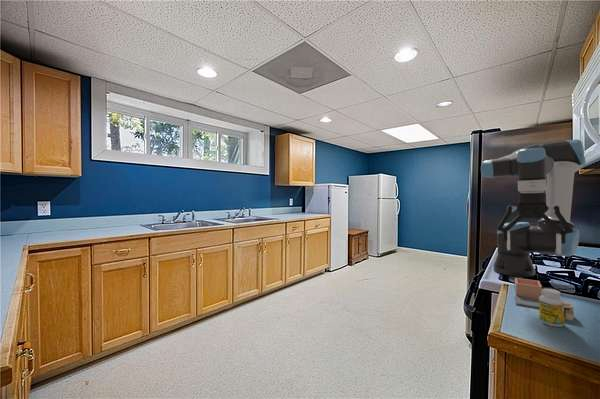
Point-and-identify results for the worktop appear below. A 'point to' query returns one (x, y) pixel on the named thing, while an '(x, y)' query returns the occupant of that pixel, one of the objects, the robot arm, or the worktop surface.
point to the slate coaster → (527, 302)
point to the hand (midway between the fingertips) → (532, 251)
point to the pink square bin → (528, 288)
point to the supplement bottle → (551, 308)
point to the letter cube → (568, 311)
